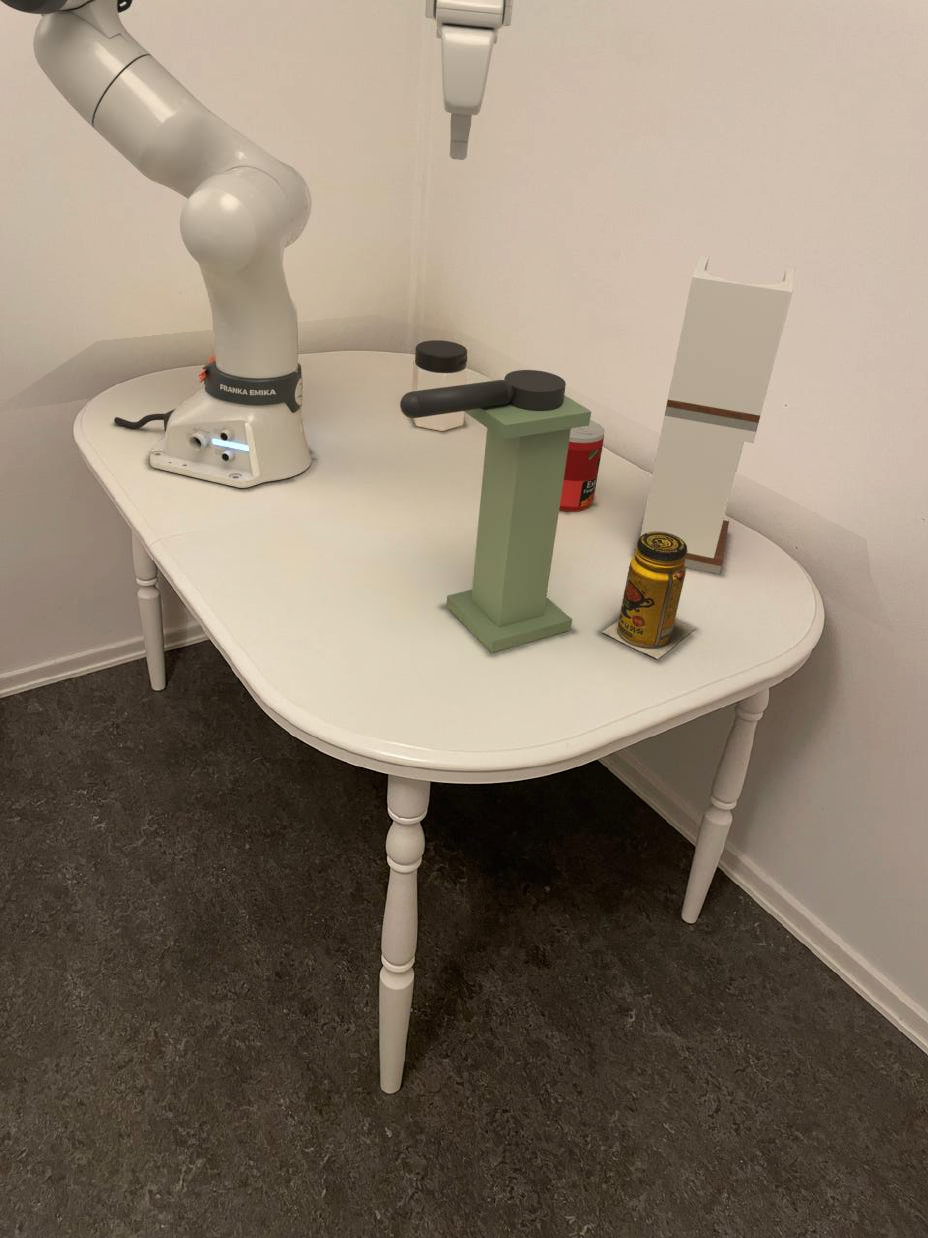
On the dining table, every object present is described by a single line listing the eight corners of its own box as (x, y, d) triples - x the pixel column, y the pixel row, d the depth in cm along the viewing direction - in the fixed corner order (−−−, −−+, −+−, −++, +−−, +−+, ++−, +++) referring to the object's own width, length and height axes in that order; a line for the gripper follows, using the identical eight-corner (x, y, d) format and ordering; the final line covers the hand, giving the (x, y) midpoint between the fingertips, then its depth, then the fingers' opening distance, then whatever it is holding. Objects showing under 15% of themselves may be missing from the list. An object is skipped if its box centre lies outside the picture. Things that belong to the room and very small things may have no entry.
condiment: (601, 633, 108) (619, 539, 101) (640, 605, 114) (659, 515, 107) (657, 661, 104) (679, 566, 98) (694, 630, 110) (718, 538, 103)
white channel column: (719, 574, 121) (792, 291, 102) (636, 556, 123) (692, 277, 104) (725, 534, 131) (793, 268, 111) (648, 518, 133) (701, 255, 113)
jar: (467, 431, 154) (473, 357, 147) (417, 432, 152) (421, 357, 145) (455, 410, 161) (461, 339, 154) (407, 410, 159) (411, 338, 152)
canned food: (590, 516, 132) (603, 441, 126) (533, 507, 133) (542, 432, 127) (595, 492, 138) (607, 420, 132) (540, 484, 139) (550, 412, 133)
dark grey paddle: (416, 431, 86) (417, 405, 85) (386, 407, 90) (387, 382, 89) (575, 406, 94) (578, 383, 93) (540, 385, 98) (543, 362, 97)
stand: (483, 655, 103) (508, 426, 88) (438, 608, 110) (454, 389, 95) (570, 630, 108) (607, 411, 94) (522, 587, 115) (549, 376, 101)
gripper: (440, -3, 106) (431, 136, 114) (436, 0, 89) (426, 163, 96) (497, 3, 106) (484, 141, 114) (504, 7, 89) (488, 169, 97)
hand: (458, 151), depth 105 cm, fingers open, 8 cm apart
